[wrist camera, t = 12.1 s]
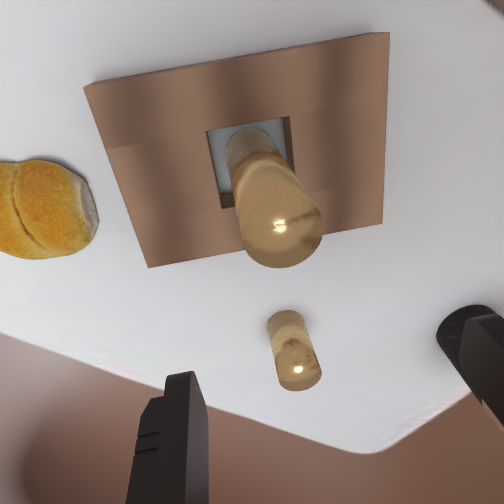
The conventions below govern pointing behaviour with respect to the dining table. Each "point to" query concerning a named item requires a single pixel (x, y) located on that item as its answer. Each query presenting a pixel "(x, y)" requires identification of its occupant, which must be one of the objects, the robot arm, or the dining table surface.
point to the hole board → (237, 113)
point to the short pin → (293, 351)
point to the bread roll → (44, 210)
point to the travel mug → (451, 341)
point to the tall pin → (271, 202)
